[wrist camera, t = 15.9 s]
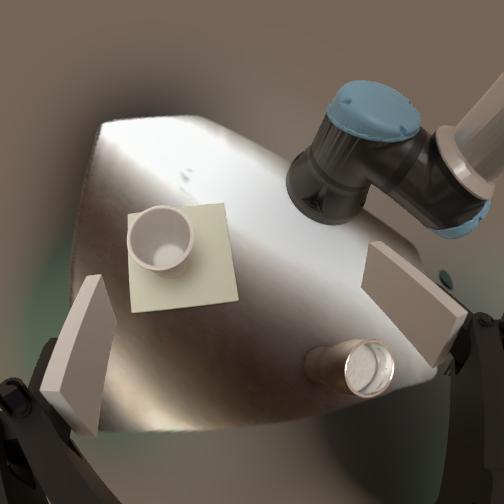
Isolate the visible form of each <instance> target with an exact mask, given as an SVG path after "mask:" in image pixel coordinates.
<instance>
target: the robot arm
mask: <svg viewBox="0 0 504 504" xmlns="http://www.w3.org/2000/svg"><path fill="white" fill-rule="evenodd" d="M420 124H421V118H420V115H419V112H418V111H417V109H416V108H415V106H413V105H411V104H410V101H409V100H408V99H407V98H406V97H405V96H403V95H402V94H401V93H399V92H397V91H396V90H394V89H392V88H390V87H388V86H386V85H383V84H380V83H377V82H373V81H362V80H358V81H352V82H349V83H347V84H345V85H343V86H342V87H341V88H340V89H339V91H338V93H337V94H336V96H335V98H334V99H333V101H332V102H331V103H330V104H329V106H328V108H327V113H326V115H325V118H324V120H323V122H322V124H321V126H320V128H319V130H318V132H317V134H316V137H315V139H314V140H313V142H312V145H311V146H309V147H308V148H307V149H306V150H305V151H304V152H302V153H301V154H299V155H298V156H297V157H296V158H295V159H294V160H293V162H292V164H291V166H290V168H289V170H288V173H287V177H286V185H287V190H288V193H289V196H290V198H291V200H292V201H293V203H294V204H295V205H296V207H297V208H298V209H299V210H300V211H301V212H302V213H304V214H305V215H306V216H308V217H309V218H311V219H313V220H315V221H317V222H320V223H323V224H329V225H338V224H343V223H346V222H348V221H350V220H351V219H353V218H354V217H355V216H356V215H357V214H358V213H359V212H360V211H361V209H362V208H363V206H364V204H365V201H366V196H367V194H368V190H369V187H370V185H371V184H373V185H374V186H376V187H377V188H379V189H380V190H382V191H383V192H384V193H385V194H387V195H388V196H389V197H391V198H392V199H393V200H394V201H396V202H397V203H398V204H400V205H401V206H402V207H403V208H404V209H406V210H407V211H408V212H409V213H410V214H412V215H413V216H414V217H415V218H416V219H418V220H419V221H420V222H421V223H422V224H423V225H424V226H425V227H426V228H428V229H429V230H432V231H433V232H434V233H436V234H437V235H438V236H440V237H442V238H445V239H457V238H460V237H463V236H465V235H467V234H468V233H470V232H471V231H472V230H474V229H475V228H476V227H477V226H478V222H479V221H480V220H483V219H484V218H485V216H486V214H487V212H488V210H489V207H490V202H491V197H492V196H493V194H494V189H495V180H496V179H497V178H498V177H500V176H501V175H502V174H503V173H504V72H503V73H502V74H501V75H500V77H499V78H498V79H497V80H496V81H495V83H494V84H493V85H492V86H491V87H490V88H489V90H488V91H487V92H486V93H485V94H484V95H483V97H482V98H481V99H480V100H479V101H478V102H477V104H476V105H475V106H474V107H473V108H472V109H471V110H470V111H469V112H468V113H467V115H466V116H465V117H464V118H463V119H462V120H461V121H460V122H459V123H458V124H457V125H456V127H453V126H447V125H443V126H440V127H439V128H438V129H437V130H436V131H435V133H434V134H433V135H431V134H429V133H428V132H427V131H426V130H424V129H423V128H422V127H421V126H420ZM361 288H362V289H363V290H364V291H365V292H366V293H367V294H368V295H369V296H370V297H371V298H372V299H373V301H374V302H375V303H376V304H377V305H378V306H379V307H380V308H381V309H382V310H383V312H384V313H385V314H386V315H387V316H388V317H389V318H390V319H391V321H392V322H393V323H394V324H395V325H396V326H397V327H398V328H399V330H400V331H401V332H402V333H403V334H404V335H405V337H406V338H407V339H408V340H409V341H410V342H411V343H412V345H413V346H414V347H415V348H416V349H417V351H418V352H419V353H420V354H421V355H422V356H423V358H424V359H425V360H426V361H427V362H428V364H429V365H430V366H431V367H432V368H434V367H436V366H438V365H439V364H441V363H443V362H444V361H445V359H446V357H447V355H448V354H449V352H450V353H451V354H452V356H453V357H452V359H451V361H450V362H449V364H448V366H447V368H446V369H445V371H444V375H446V374H447V372H448V370H450V374H449V376H450V377H451V387H450V389H451V391H450V417H449V431H448V442H447V450H446V458H445V464H444V471H443V477H442V482H441V487H440V492H439V496H438V499H437V501H436V502H435V504H504V313H503V315H502V317H501V319H498V320H494V319H493V318H492V317H491V316H489V315H488V314H486V313H483V312H477V313H475V314H473V313H472V312H471V311H469V310H468V309H467V308H466V307H465V306H464V305H462V303H460V302H459V301H458V300H457V299H456V298H453V296H452V295H451V294H450V293H448V291H446V290H445V289H444V288H443V287H442V286H440V285H438V284H436V283H434V282H432V281H431V280H430V279H428V277H426V276H425V275H424V274H423V273H421V272H420V271H419V270H418V269H416V268H415V267H414V266H413V265H411V264H410V263H409V262H408V261H406V260H405V259H404V258H402V257H401V256H400V255H399V254H397V253H396V252H395V251H393V250H392V249H391V248H389V247H388V246H387V245H385V244H384V243H383V242H381V241H376V242H369V246H368V252H367V258H366V264H365V270H364V275H363V280H362V285H361ZM116 323H117V321H116V318H115V315H114V312H113V309H112V306H111V303H110V300H109V297H108V294H107V291H106V288H105V285H104V281H103V278H102V275H101V274H100V275H91V276H87V277H86V279H85V281H84V283H83V285H82V287H81V289H80V291H79V293H78V295H77V297H76V299H75V301H74V303H73V306H72V308H71V310H70V312H69V314H68V317H67V319H66V321H65V323H64V326H63V328H62V331H61V333H60V335H59V338H51V339H50V340H49V341H48V342H47V343H46V345H45V346H44V347H43V349H42V352H41V354H40V359H38V362H37V364H36V365H37V367H35V369H34V372H33V375H32V377H31V380H30V383H29V386H28V388H27V387H26V385H25V384H24V383H23V381H22V380H21V379H19V378H9V379H6V380H5V381H3V382H2V383H1V384H0V408H1V409H2V410H3V411H0V504H49V503H48V500H47V498H46V496H47V497H48V499H49V501H50V502H51V504H122V503H121V502H120V501H119V500H118V499H117V498H116V497H115V496H114V494H113V493H112V492H111V491H110V490H109V489H108V487H107V486H106V485H105V484H104V482H103V481H102V480H101V479H100V477H99V476H98V475H97V474H96V472H95V471H94V470H93V468H92V467H91V466H90V464H89V463H88V462H87V460H86V459H85V458H84V456H83V455H82V453H81V452H80V450H79V449H78V448H77V446H76V445H75V443H74V442H73V440H71V438H70V432H71V429H72V430H73V431H74V432H75V433H76V435H77V436H78V437H89V438H97V430H98V422H99V414H100V407H101V400H102V394H103V387H104V381H105V376H106V370H107V365H108V360H109V355H110V350H111V345H112V341H113V336H114V332H115V328H116ZM45 494H46V495H45Z"/></svg>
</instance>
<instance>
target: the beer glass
mask: <svg viewBox="0 0 504 504" xmlns="http://www.w3.org/2000/svg"><path fill="white" fill-rule="evenodd" d="M394 371H395V360H394V356H393V353H392V351H391V349H390V348H389V347H388V346H387V345H386V344H385V343H384V342H382V341H380V340H376V339H353V340H347V341H343V342H341V343H338V344H336V345H334V346H332V347H328V346H318V347H315V348H313V349H312V350H311V351H310V352H309V353H308V354H307V356H306V357H305V360H304V372H305V374H306V376H307V378H308V379H309V380H310V381H312V382H314V383H317V384H326V385H327V386H329V387H330V388H331V389H333V390H335V391H336V392H338V393H341V394H344V395H349V396H355V397H363V398H370V397H374V396H377V395H379V394H380V393H382V392H383V391H384V390H385V389H386V388H387V387H388V385H389V384H390V382H391V380H392V378H393V375H394Z"/></svg>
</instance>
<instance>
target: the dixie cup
mask: <svg viewBox="0 0 504 504" xmlns="http://www.w3.org/2000/svg"><path fill="white" fill-rule="evenodd" d="M193 243H194V229H193V225H192V223H191V221H190V219H189V218H188V217H187V216H186V215H185V214H184V213H183V212H182V211H180V210H179V209H177V208H174V207H171V206H155V207H151V208H149V209H147V210H145V211H143V212H142V213H140V214H139V215H138V216H137V217H136V218H135V219H134V221H133V222H132V224H131V225H130V228H129V230H128V234H127V246H128V250H129V253H130V255H131V256H132V258H133V259H134V260H135V261H136V262H137V263H138V264H139V265H140V266H142V267H144V268H146V269H149V270H151V271H152V272H154V273H156V274H157V275H158V276H160V277H162V278H165V279H175V278H177V277H179V276H181V275H182V274H183V273H184V272H185V271H186V269H187V267H188V262H189V256H190V251H191V249H192V247H193Z"/></svg>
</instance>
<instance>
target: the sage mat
mask: <svg viewBox="0 0 504 504" xmlns="http://www.w3.org/2000/svg"><path fill="white" fill-rule="evenodd" d="M177 209H179V210H180V211H182V212H183V213H184V214H185V215H186V216H187V217H188V218H189V219H190V221H191V223H192V225H193V229H194V243H193V247H192V249H191V251H190V256H189V262H188V267H187V269H186V271H185V272H184V273H183V274H182V275H181V276H179V277H177V278H175V279H165V278H162V277H160V276H158V275H157V274H156V273H154V272H152V271H151V270H149V269H146V268H144V267H142V266H140V265H139V264H138V263H137V262H136V261H135V260H134V259H133V258H132V256H131V255H130V253H129V250H128V261H129V282H130V297H131V309H132V313H142V312H152V311H162V310H171V309H180V308H189V307H197V306H205V305H213V304H221V303H228V302H236V301H239V298H238V292H237V286H236V280H235V273H234V267H233V261H232V254H231V248H230V241H229V234H228V228H227V221H226V214H225V207H224V203H218V204H208V205H198V206H189V207H180V208H177ZM140 213H142V212H140ZM140 213H133V214H128V230H129V228H130V225H131V224H132V222H133V221H134V219H135V218H136V217H137V216H138V215H139V214H140Z"/></svg>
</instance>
